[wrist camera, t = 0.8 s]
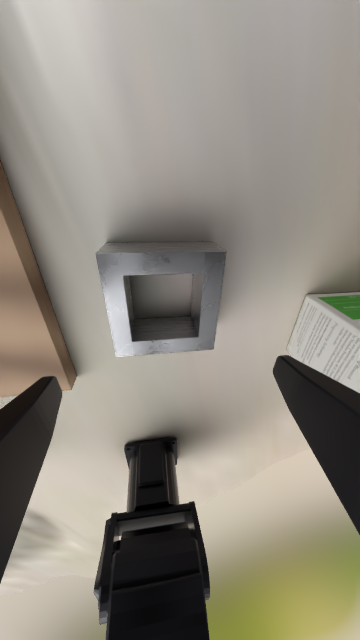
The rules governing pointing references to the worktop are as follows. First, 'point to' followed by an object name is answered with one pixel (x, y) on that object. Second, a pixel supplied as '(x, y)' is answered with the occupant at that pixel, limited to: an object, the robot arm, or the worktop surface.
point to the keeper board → (25, 311)
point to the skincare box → (329, 336)
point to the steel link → (156, 260)
